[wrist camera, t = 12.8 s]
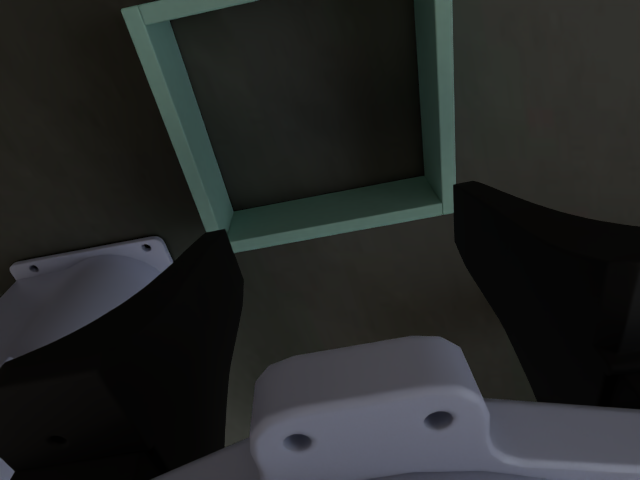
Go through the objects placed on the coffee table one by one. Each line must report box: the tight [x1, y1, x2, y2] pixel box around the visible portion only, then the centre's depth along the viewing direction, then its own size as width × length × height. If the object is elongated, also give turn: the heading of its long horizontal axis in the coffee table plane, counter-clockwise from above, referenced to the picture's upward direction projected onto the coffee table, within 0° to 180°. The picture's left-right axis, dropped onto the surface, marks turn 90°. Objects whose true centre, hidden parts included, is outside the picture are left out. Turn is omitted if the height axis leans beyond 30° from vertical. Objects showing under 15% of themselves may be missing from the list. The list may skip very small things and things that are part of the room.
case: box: [121, 0, 456, 253], centre depth 20 cm, size 12×11×4 cm
